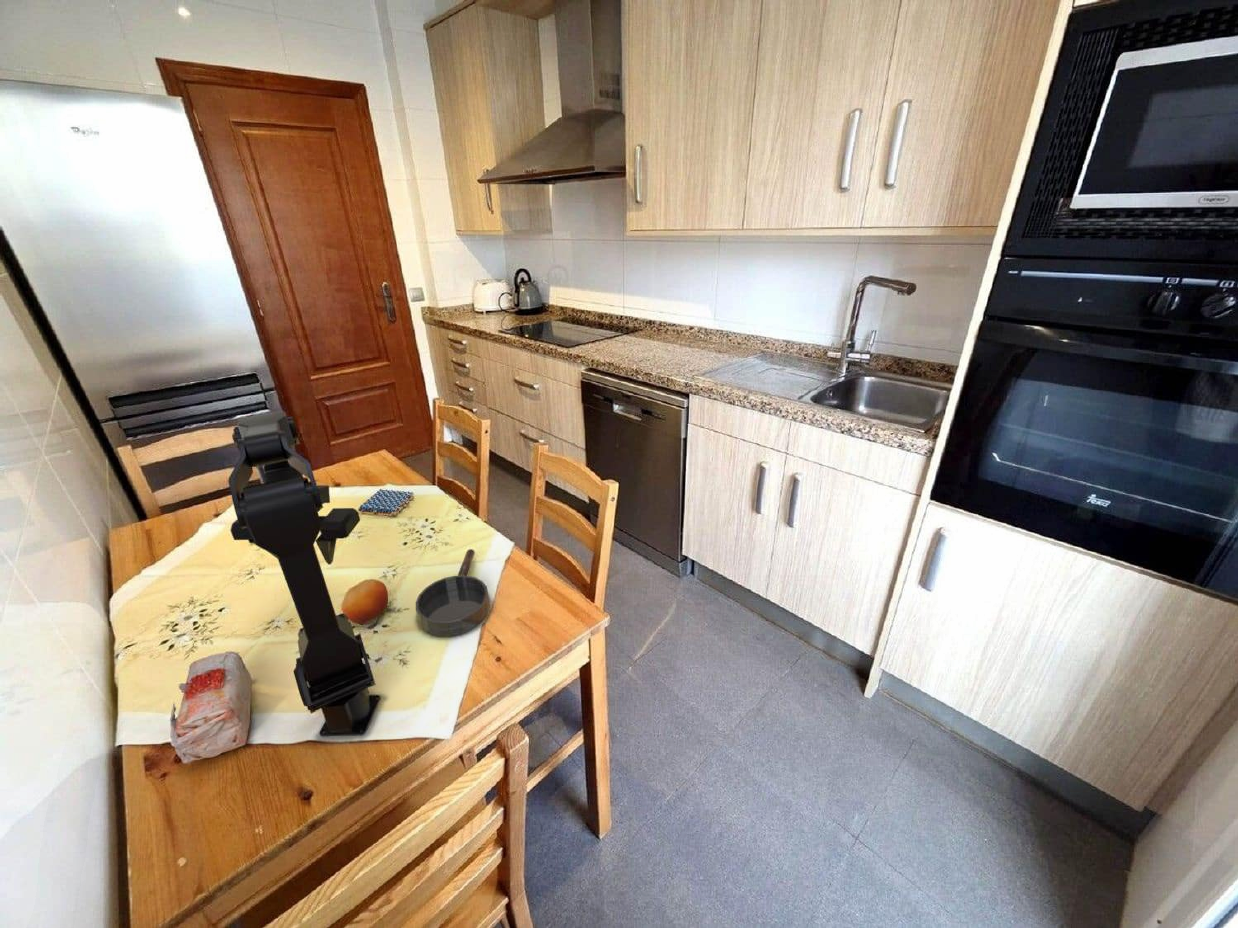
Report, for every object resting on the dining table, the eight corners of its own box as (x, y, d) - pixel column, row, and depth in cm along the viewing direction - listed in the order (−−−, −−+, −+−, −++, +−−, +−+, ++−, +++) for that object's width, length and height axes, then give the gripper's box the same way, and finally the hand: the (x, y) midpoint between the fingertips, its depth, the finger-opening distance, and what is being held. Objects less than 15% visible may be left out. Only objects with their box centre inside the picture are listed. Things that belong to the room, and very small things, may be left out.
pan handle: (465, 583, 100) (464, 576, 100) (456, 583, 100) (455, 576, 100) (476, 554, 109) (475, 547, 108) (467, 554, 109) (466, 547, 108)
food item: (255, 748, 71) (231, 700, 67) (184, 777, 67) (154, 729, 63) (257, 679, 81) (237, 634, 77) (196, 701, 78) (171, 655, 73)
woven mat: (416, 497, 134) (415, 490, 133) (395, 518, 125) (393, 511, 124) (380, 493, 136) (379, 487, 135) (356, 514, 126) (355, 507, 125)
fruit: (382, 628, 90) (353, 595, 87) (354, 639, 93) (325, 607, 90) (408, 598, 97) (381, 566, 95) (381, 609, 100) (354, 579, 98)
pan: (482, 636, 90) (480, 621, 89) (409, 638, 90) (405, 623, 88) (495, 588, 102) (493, 574, 100) (430, 589, 101) (427, 576, 100)
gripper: (363, 464, 90) (380, 536, 97) (256, 465, 89) (281, 538, 96) (334, 495, 80) (356, 573, 87) (213, 497, 79) (245, 575, 86)
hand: (310, 563), depth 89 cm, fingers open, 7 cm apart
